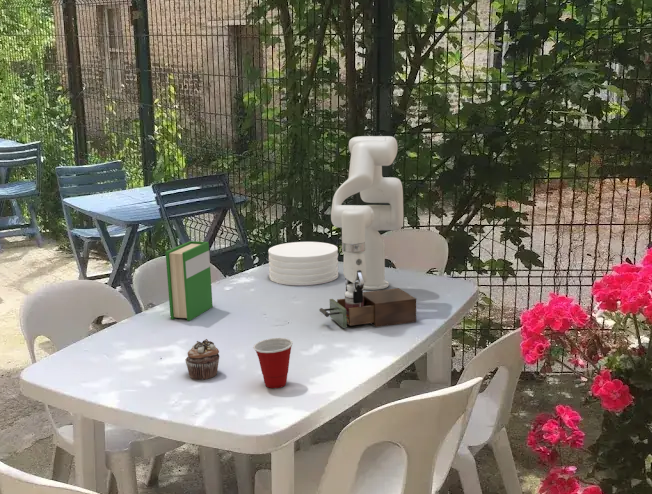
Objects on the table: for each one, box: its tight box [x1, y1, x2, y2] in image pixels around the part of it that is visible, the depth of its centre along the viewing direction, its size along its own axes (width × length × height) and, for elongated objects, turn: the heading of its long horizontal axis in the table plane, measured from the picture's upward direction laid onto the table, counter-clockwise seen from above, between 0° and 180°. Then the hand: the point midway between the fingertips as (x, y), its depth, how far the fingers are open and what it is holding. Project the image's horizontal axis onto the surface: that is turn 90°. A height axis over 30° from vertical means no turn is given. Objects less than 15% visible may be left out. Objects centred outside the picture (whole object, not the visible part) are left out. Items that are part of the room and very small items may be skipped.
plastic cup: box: [252, 337, 294, 389], centre depth 234 cm, size 11×11×12 cm
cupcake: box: [184, 338, 220, 381], centre depth 243 cm, size 10×10×10 cm
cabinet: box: [363, 287, 417, 328], centre depth 290 cm, size 15×15×8 cm
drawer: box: [319, 298, 375, 329], centre depth 286 cm, size 18×13×6 cm
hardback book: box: [165, 240, 214, 322], centre depth 301 cm, size 18×7×24 cm, turn 159°
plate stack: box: [268, 241, 339, 286], centre depth 348 cm, size 28×28×12 cm
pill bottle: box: [344, 284, 364, 318], centre depth 285 cm, size 6×6×11 cm
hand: (354, 299), depth 285 cm, fingers closed on pill bottle, 6 cm apart
